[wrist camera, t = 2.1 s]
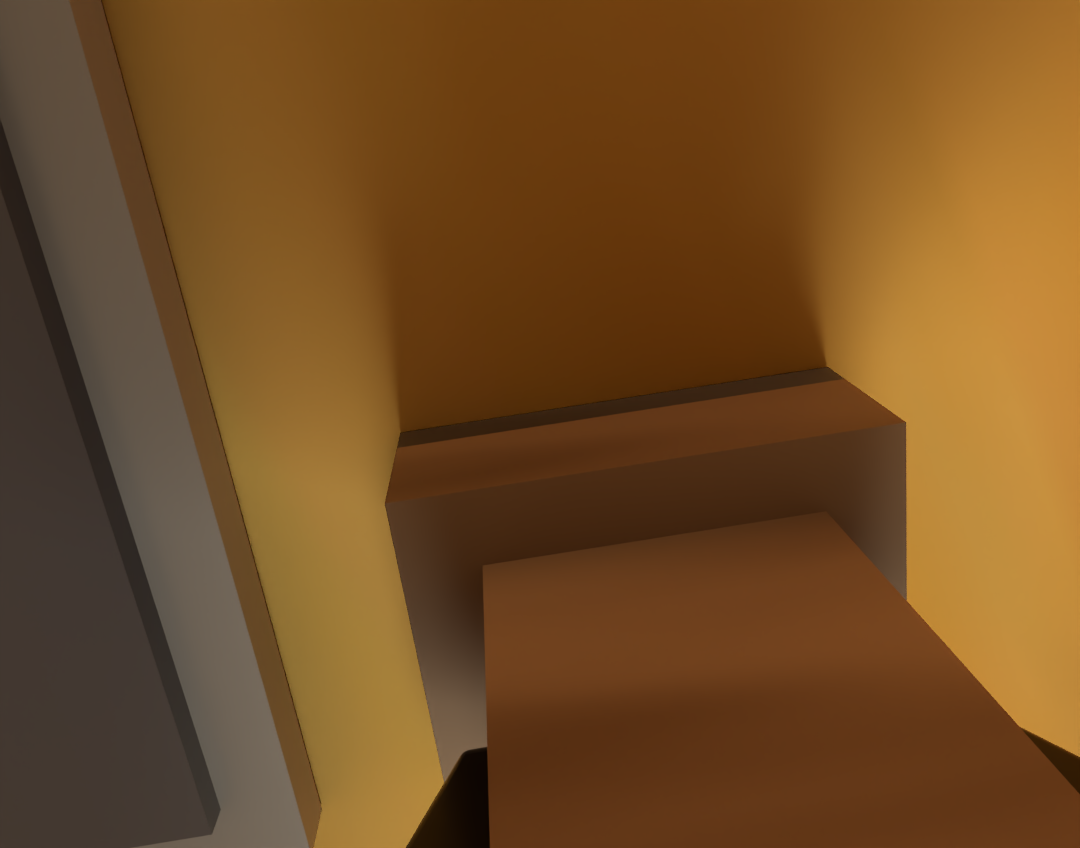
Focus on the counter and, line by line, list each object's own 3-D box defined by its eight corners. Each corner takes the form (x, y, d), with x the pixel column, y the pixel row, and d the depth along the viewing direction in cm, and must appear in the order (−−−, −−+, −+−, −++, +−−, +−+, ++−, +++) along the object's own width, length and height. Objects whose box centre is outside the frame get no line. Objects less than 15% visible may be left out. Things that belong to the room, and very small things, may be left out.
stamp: (839, 721, 12) (1277, 1447, 6) (470, 783, 12) (471, 1594, 5) (826, 367, 11) (1431, 793, 4) (400, 432, 10) (278, 989, 4)
